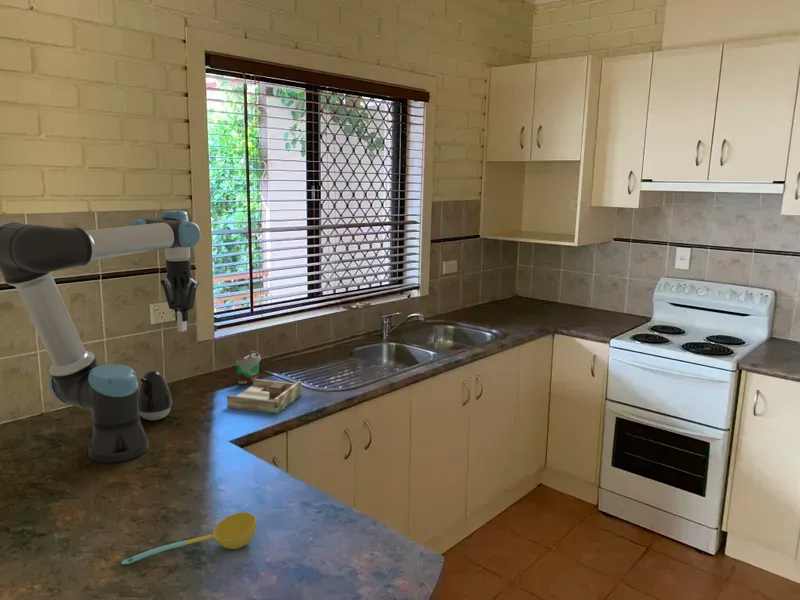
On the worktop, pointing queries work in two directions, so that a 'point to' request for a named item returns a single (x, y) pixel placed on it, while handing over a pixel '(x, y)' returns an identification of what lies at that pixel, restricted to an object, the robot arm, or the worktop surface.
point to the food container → (248, 368)
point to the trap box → (264, 397)
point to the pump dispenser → (154, 396)
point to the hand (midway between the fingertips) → (182, 330)
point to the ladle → (216, 535)
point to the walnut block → (276, 390)
